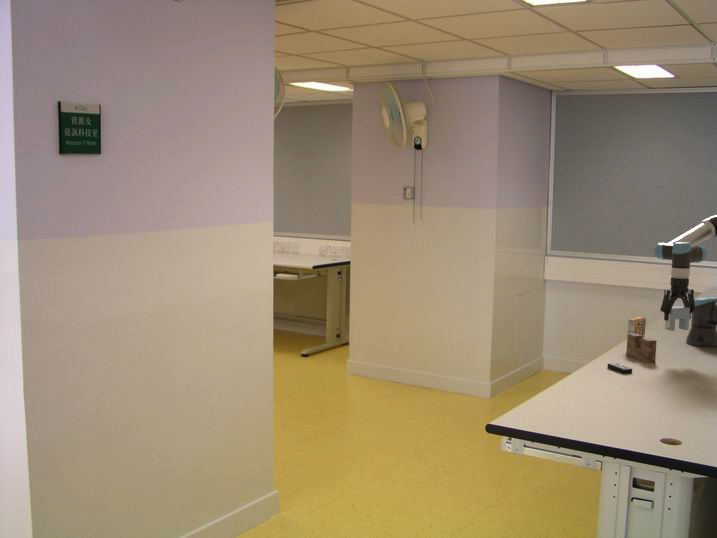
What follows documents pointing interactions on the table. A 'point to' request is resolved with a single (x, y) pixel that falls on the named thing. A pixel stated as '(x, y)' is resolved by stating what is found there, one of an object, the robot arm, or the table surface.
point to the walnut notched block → (641, 348)
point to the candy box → (637, 326)
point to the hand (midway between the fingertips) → (676, 327)
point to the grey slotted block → (679, 317)
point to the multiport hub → (620, 368)
